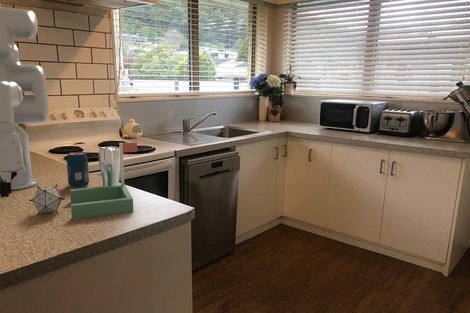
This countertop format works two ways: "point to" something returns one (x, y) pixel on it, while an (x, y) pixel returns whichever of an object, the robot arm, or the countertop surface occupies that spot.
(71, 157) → the soda can
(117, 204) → the green open box
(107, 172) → the beer glass
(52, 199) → the game die
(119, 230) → the countertop surface
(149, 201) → the countertop surface
